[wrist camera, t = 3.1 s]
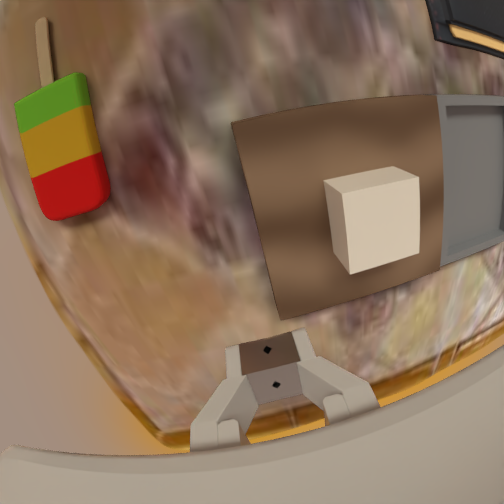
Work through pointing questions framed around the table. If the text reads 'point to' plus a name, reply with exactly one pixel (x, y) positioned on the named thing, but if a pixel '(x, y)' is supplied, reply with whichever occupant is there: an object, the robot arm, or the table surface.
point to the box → (471, 173)
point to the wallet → (469, 24)
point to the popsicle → (61, 140)
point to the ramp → (314, 198)
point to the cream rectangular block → (374, 217)
